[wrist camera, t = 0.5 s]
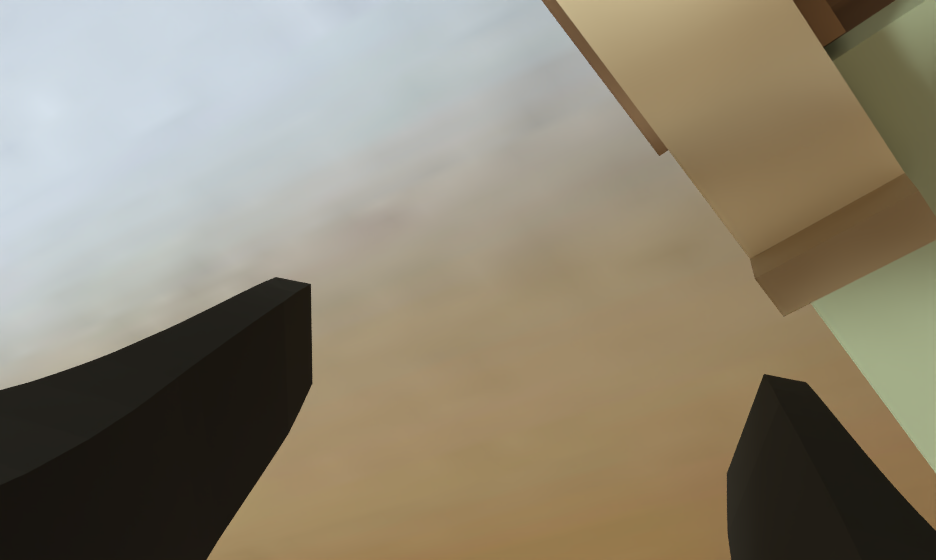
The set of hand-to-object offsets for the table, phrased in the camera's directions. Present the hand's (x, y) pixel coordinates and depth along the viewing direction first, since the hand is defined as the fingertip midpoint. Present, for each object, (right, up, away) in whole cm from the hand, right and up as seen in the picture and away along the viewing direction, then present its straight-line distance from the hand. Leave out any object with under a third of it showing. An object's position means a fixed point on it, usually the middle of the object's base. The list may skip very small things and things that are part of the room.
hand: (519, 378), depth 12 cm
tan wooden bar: (+4, +5, +2) cm, 7 cm away
